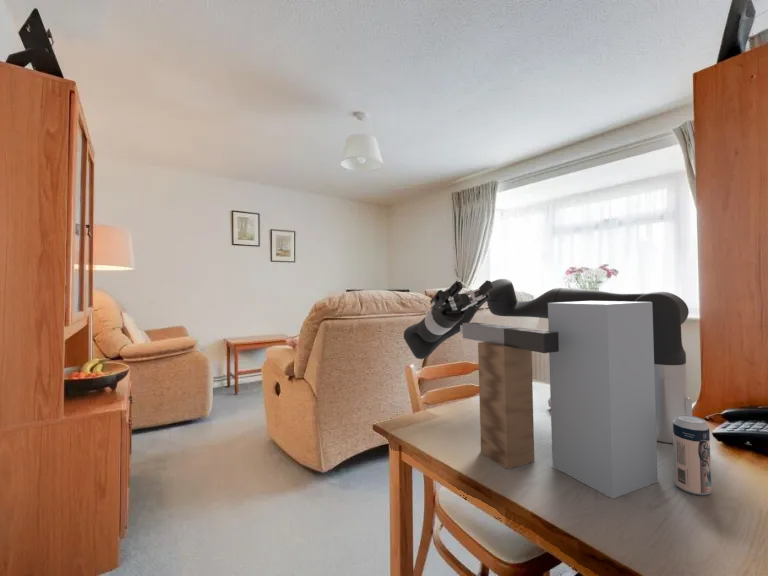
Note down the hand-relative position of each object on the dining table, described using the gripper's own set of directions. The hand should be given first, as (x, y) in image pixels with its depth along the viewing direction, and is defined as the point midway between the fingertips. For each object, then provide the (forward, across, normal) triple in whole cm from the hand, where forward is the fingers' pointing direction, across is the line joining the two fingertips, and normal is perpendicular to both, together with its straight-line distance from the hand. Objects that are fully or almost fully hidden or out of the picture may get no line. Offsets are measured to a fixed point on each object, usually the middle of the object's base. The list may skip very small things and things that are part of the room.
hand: (475, 283), depth 82 cm
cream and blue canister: (+8, -20, -48) cm, 52 cm away
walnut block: (-11, 0, -36) cm, 37 cm away
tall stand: (0, -11, -42) cm, 44 cm away
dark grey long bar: (+1, 0, -15) cm, 15 cm away
